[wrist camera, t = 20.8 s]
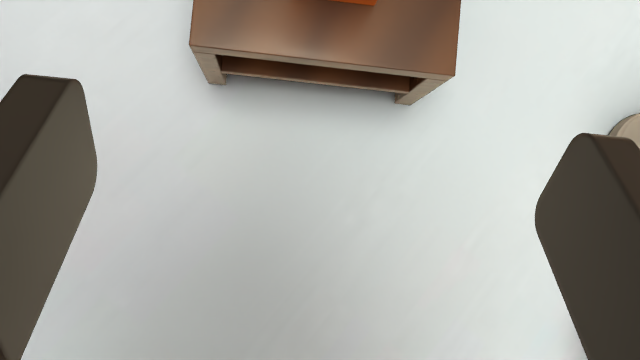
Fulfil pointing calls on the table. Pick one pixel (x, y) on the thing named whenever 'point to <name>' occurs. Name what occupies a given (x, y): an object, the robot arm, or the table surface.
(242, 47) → the shelf
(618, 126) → the travel mug
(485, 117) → the table surface
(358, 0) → the box
